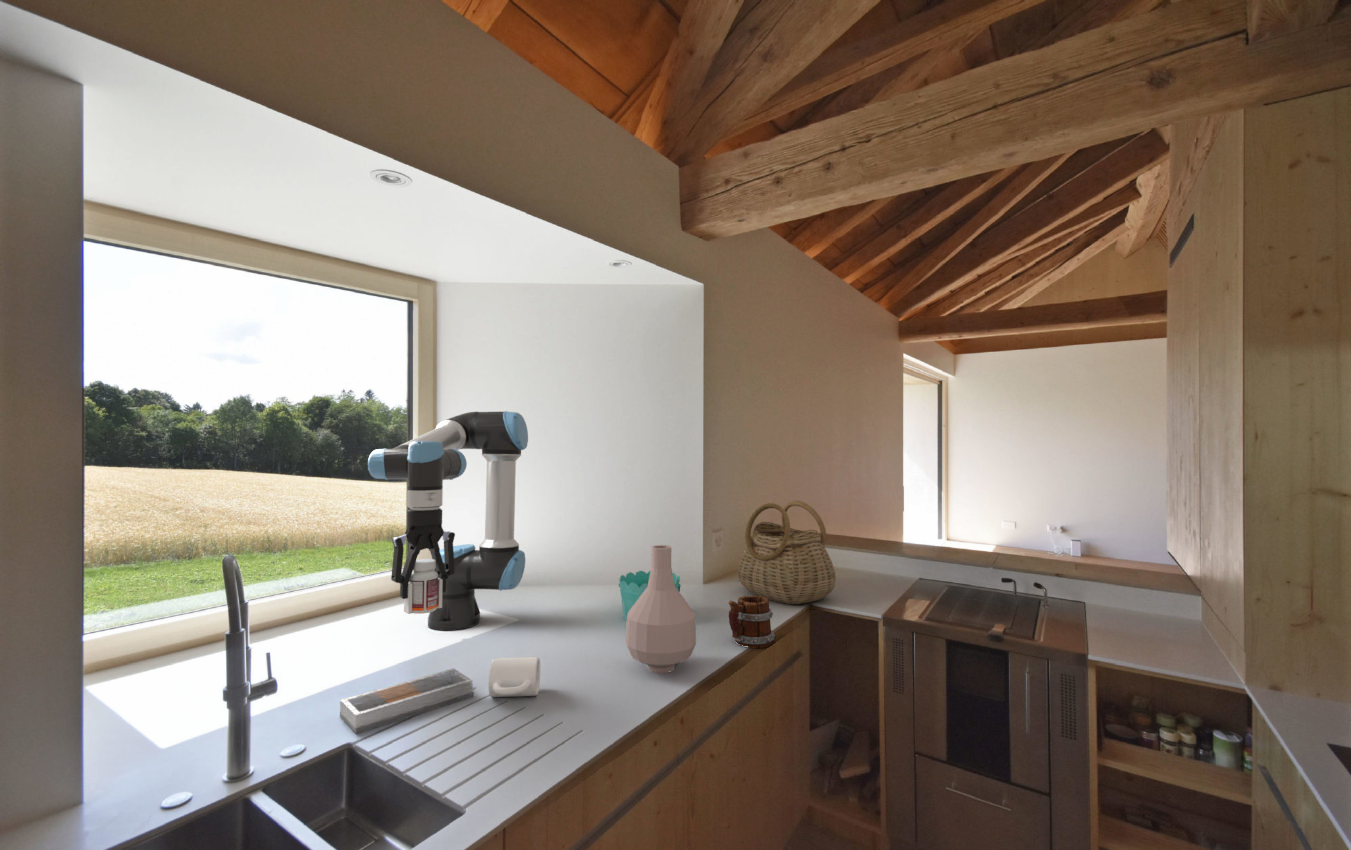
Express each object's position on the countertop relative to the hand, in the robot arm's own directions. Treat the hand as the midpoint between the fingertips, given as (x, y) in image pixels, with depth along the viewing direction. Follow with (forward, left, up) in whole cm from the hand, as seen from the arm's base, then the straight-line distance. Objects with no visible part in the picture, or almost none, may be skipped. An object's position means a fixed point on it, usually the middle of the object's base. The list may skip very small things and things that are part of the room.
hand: (423, 609), depth 140 cm
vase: (+29, +47, -18) cm, 58 cm away
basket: (+11, +125, -18) cm, 127 cm away
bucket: (-4, +73, -18) cm, 75 cm away
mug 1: (+19, +12, -18) cm, 29 cm away
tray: (+7, -6, -18) cm, 20 cm away
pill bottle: (0, 0, -1) cm, 1 cm away
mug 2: (+33, +77, -18) cm, 86 cm away
